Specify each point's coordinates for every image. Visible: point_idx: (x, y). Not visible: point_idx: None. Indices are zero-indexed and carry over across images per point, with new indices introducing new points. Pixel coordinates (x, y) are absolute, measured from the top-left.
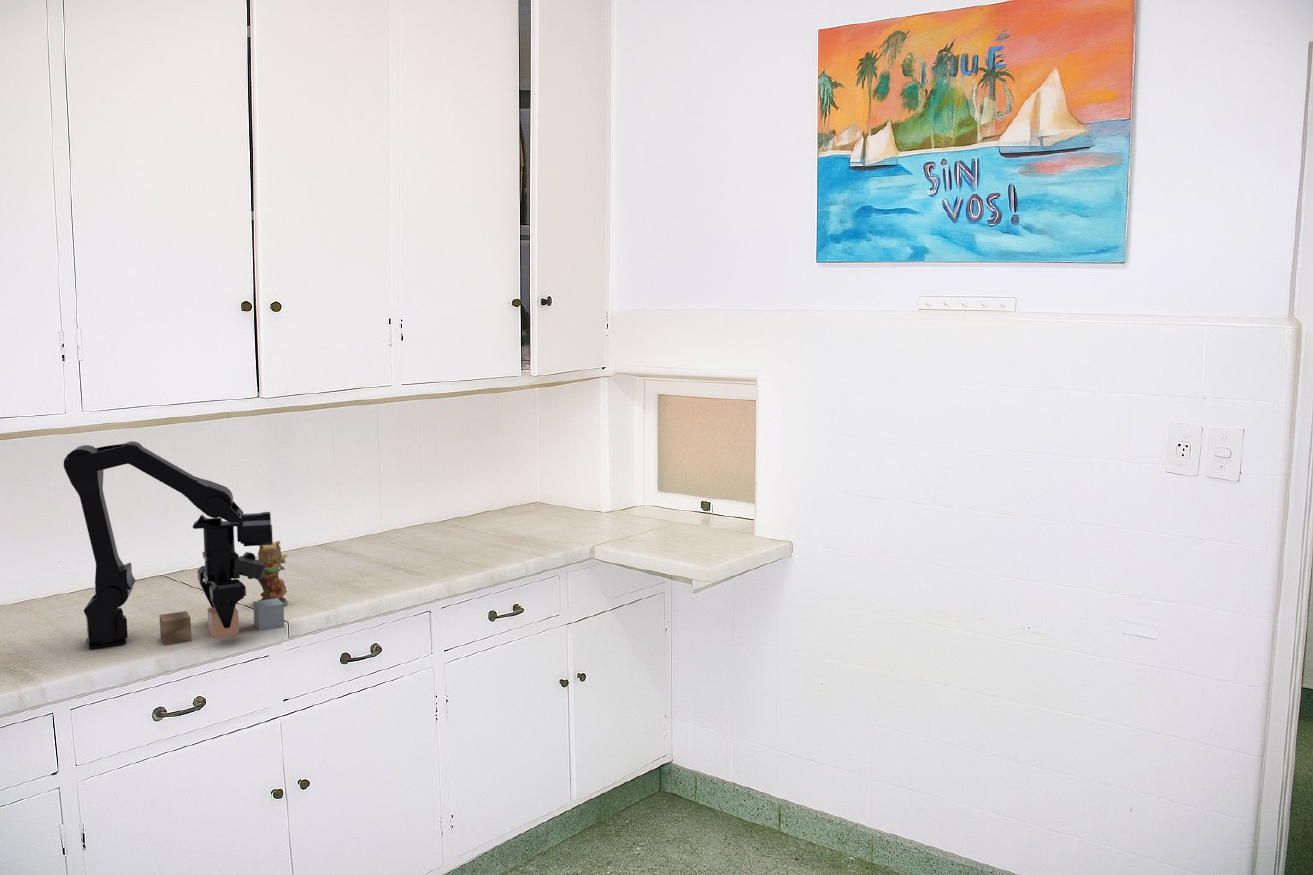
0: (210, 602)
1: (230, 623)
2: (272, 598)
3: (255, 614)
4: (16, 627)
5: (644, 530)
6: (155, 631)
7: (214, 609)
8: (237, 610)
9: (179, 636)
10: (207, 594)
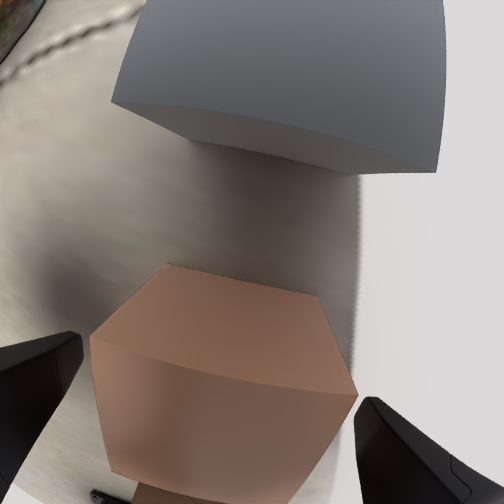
0: (36, 433)
1: (393, 412)
2: (4, 5)
3: (238, 137)
4: (15, 483)
5: None
6: (83, 453)
7: (167, 473)
8: (347, 396)
9: None
10: (8, 475)
